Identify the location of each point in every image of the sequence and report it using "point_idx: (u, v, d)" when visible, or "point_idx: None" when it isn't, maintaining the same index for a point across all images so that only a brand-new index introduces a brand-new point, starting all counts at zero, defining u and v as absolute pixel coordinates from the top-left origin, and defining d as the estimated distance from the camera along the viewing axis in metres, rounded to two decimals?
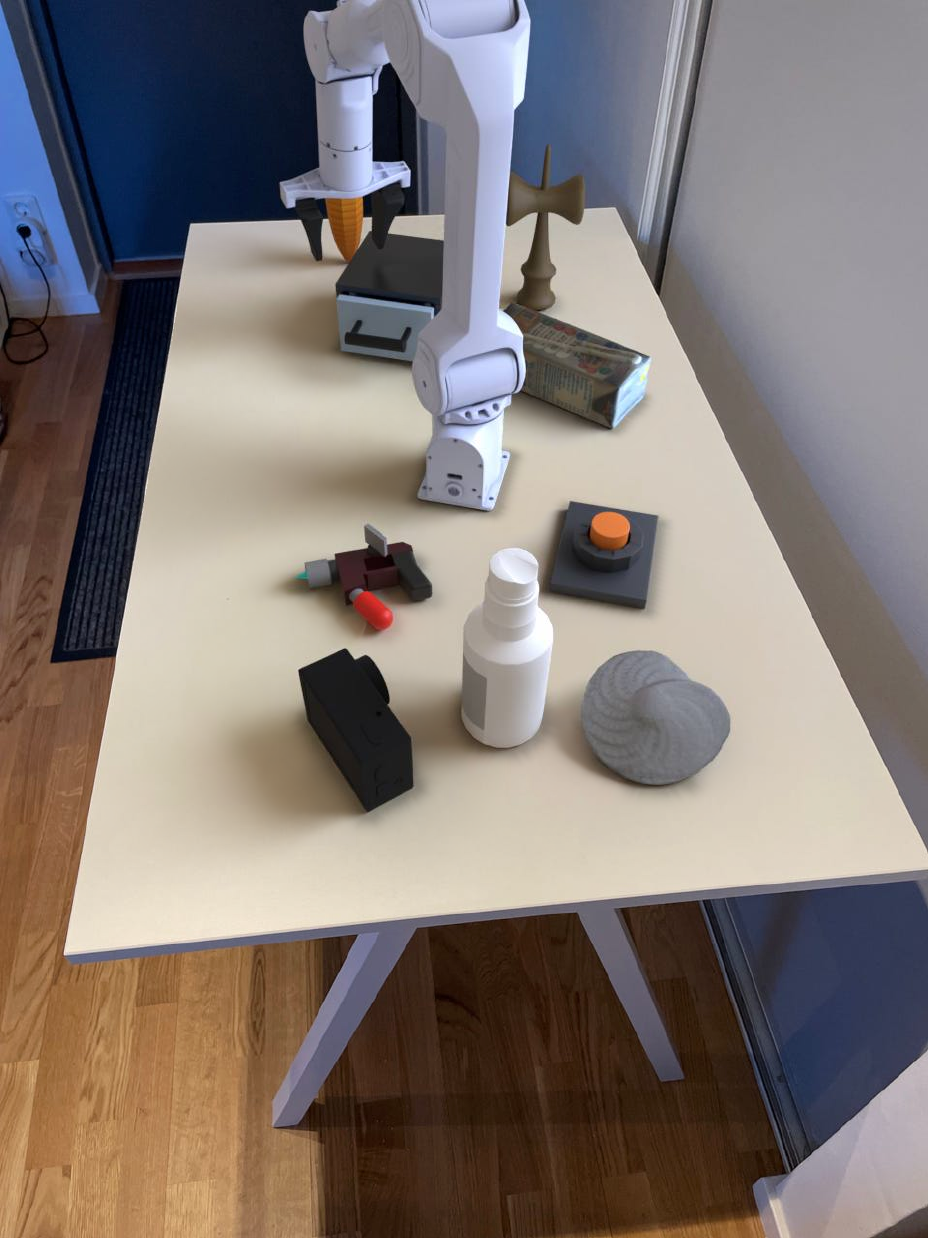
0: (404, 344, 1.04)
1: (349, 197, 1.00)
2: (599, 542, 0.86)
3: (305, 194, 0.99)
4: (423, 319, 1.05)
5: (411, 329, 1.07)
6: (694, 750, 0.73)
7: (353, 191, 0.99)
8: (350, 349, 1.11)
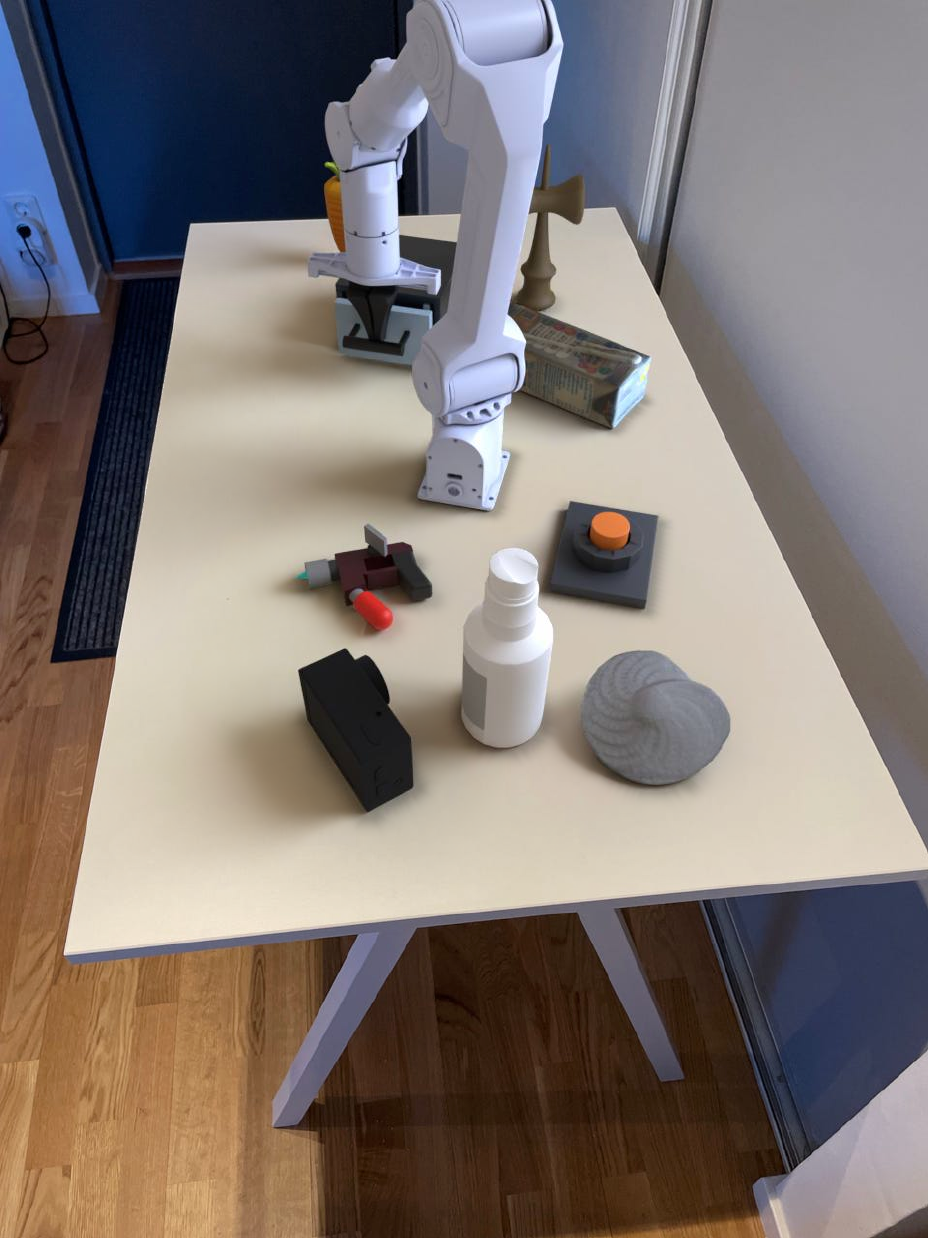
0: (402, 348, 1.04)
1: (358, 282, 0.98)
2: (599, 542, 0.86)
3: (324, 268, 0.99)
4: (421, 322, 1.05)
5: (409, 332, 1.06)
6: (694, 750, 0.73)
7: (363, 278, 0.97)
8: (348, 353, 1.10)
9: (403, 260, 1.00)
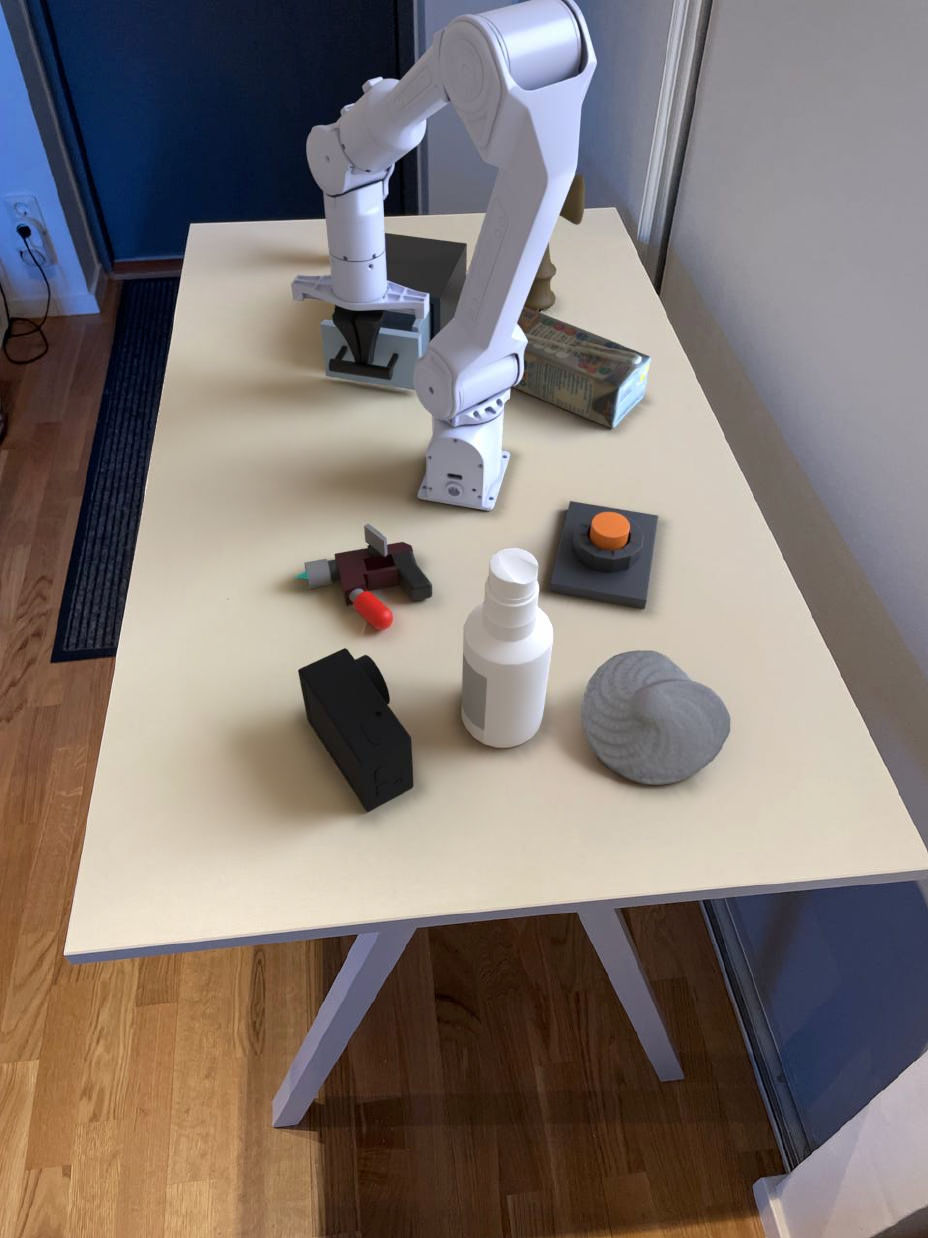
0: (390, 371, 1.01)
1: (344, 307, 0.95)
2: (599, 542, 0.86)
3: (308, 292, 0.96)
4: (410, 345, 1.02)
5: (398, 355, 1.03)
6: (694, 750, 0.73)
7: (349, 302, 0.94)
8: (335, 375, 1.07)
9: (390, 283, 0.97)
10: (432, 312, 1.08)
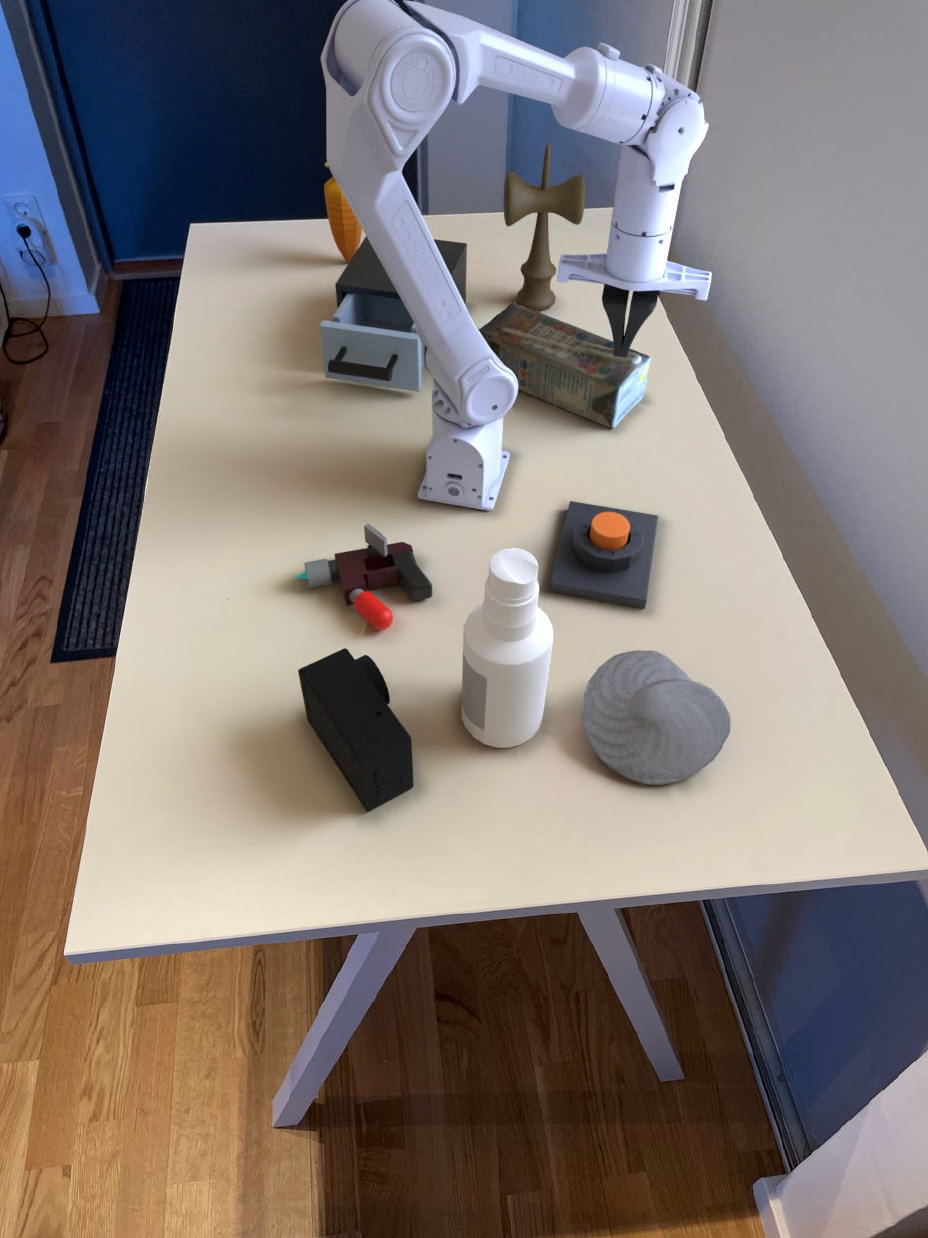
0: (390, 373, 1.00)
1: (622, 287, 0.87)
2: (599, 542, 0.86)
3: (579, 272, 0.88)
4: (410, 346, 1.02)
5: (397, 356, 1.03)
6: (694, 750, 0.73)
7: (629, 282, 0.86)
8: (334, 376, 1.07)
9: (665, 262, 0.89)
10: None
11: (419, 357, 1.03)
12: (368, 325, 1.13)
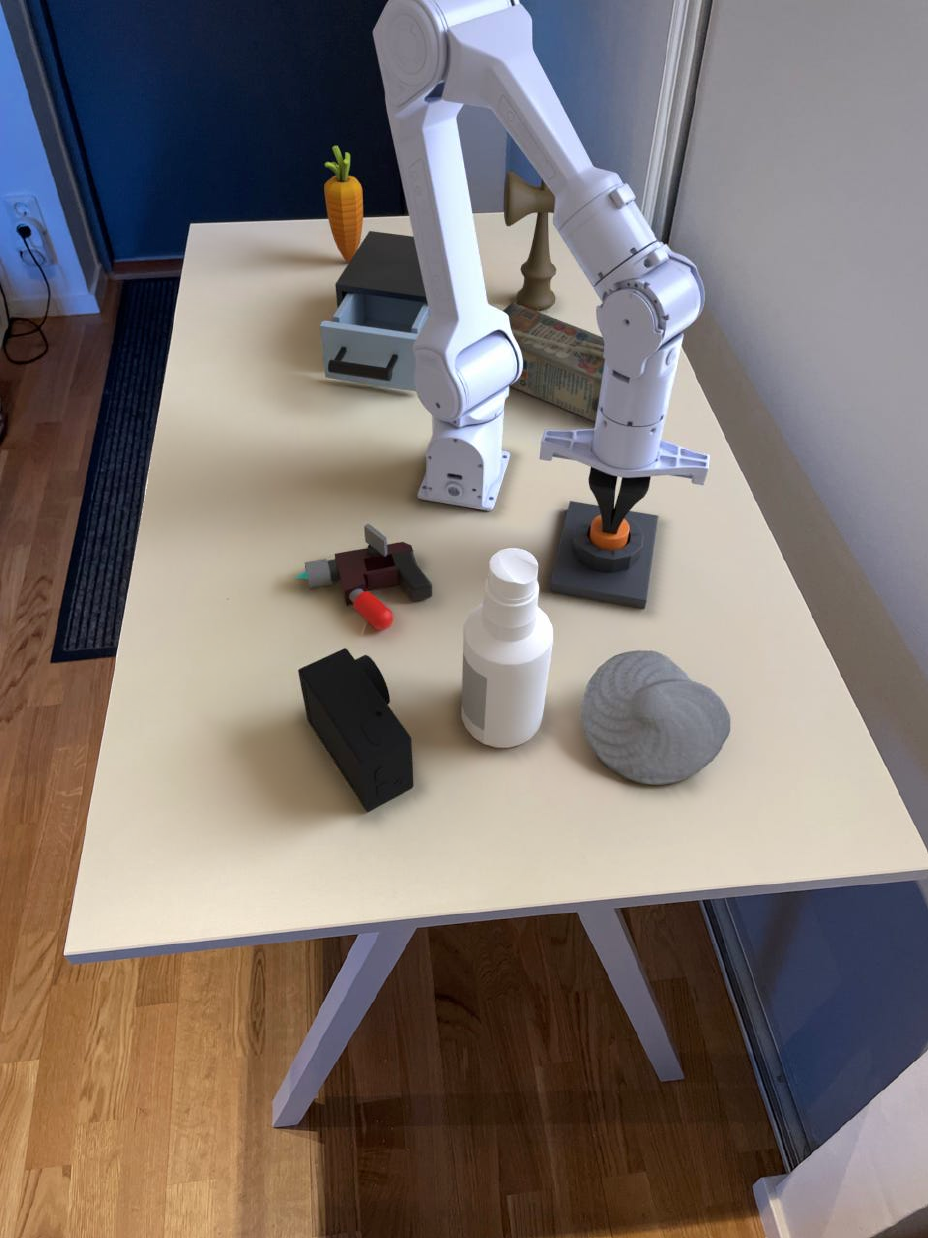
0: (390, 373, 1.00)
1: (611, 473, 0.79)
2: (599, 544, 0.87)
3: (563, 453, 0.80)
4: (410, 346, 1.02)
5: (397, 356, 1.03)
6: (694, 750, 0.73)
7: (618, 469, 0.78)
8: (334, 376, 1.07)
9: None
10: None
11: None
12: (368, 325, 1.13)
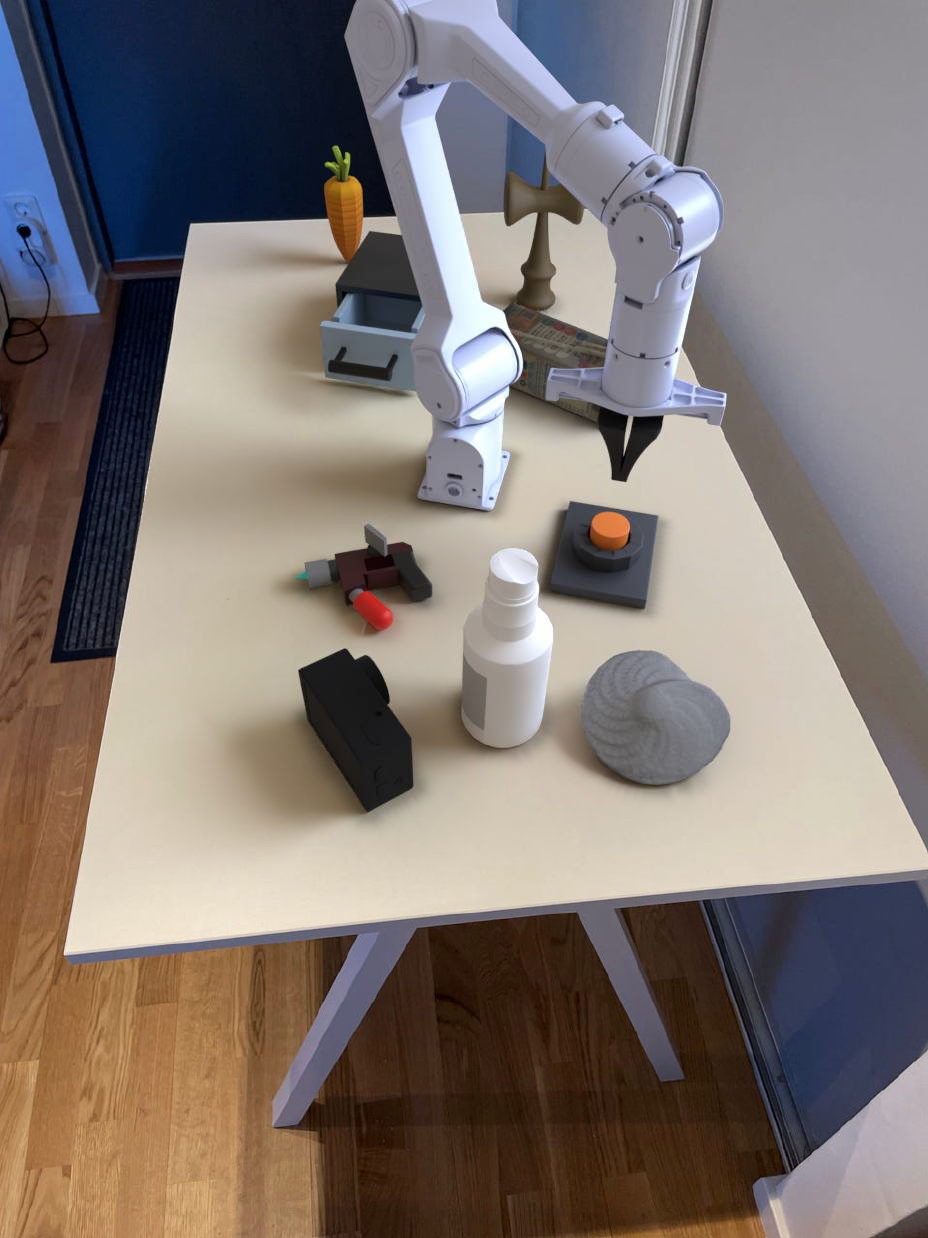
0: (390, 373, 1.00)
1: (622, 412, 0.74)
2: (599, 542, 0.86)
3: (570, 391, 0.75)
4: (410, 346, 1.02)
5: (397, 356, 1.03)
6: (694, 750, 0.73)
7: (629, 407, 0.73)
8: (334, 376, 1.07)
9: None
10: None
11: None
12: (368, 325, 1.13)
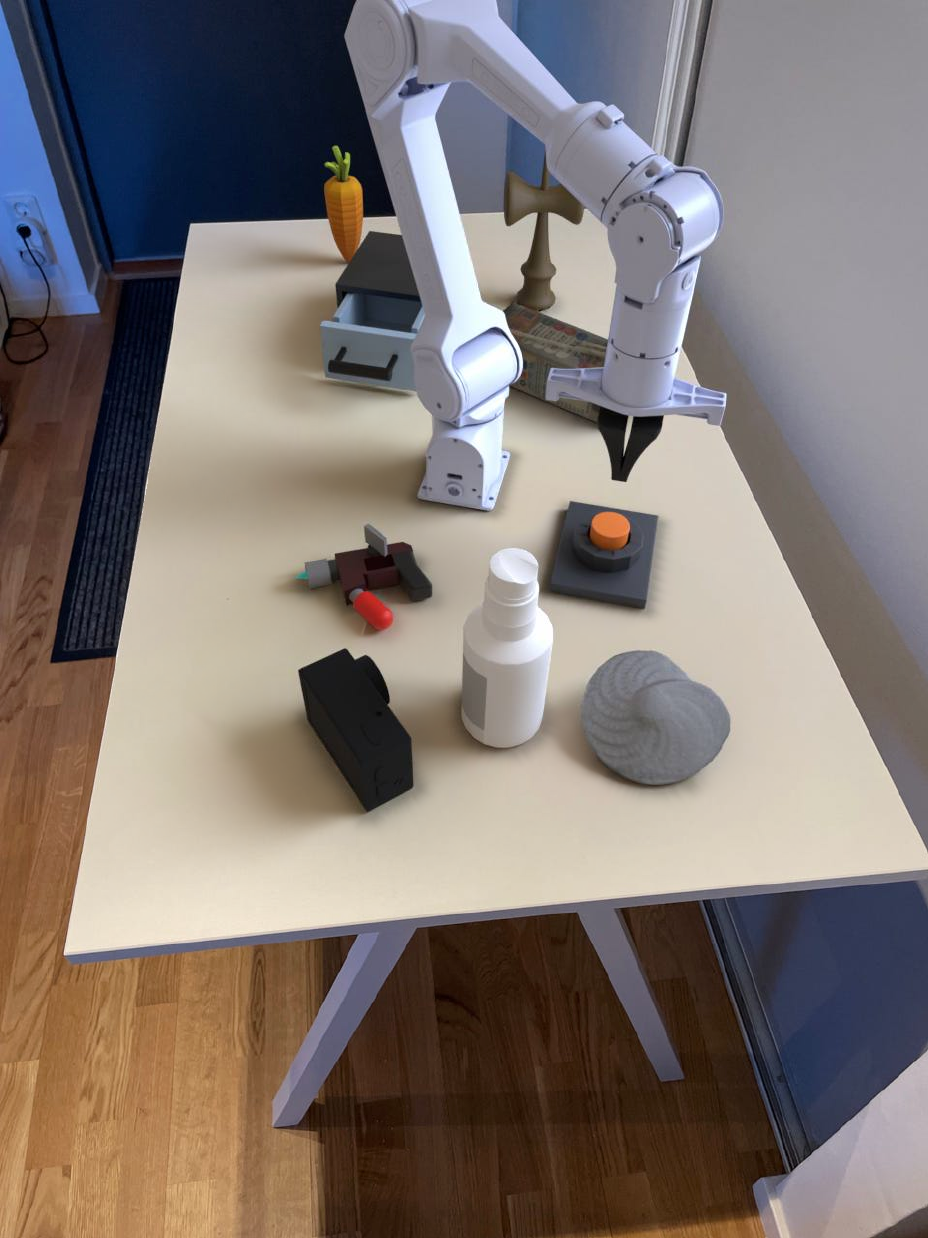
0: (390, 373, 1.00)
1: (622, 412, 0.74)
2: (599, 542, 0.86)
3: (570, 391, 0.75)
4: (410, 346, 1.02)
5: (397, 356, 1.03)
6: (694, 750, 0.73)
7: (629, 407, 0.73)
8: (334, 376, 1.07)
9: None
10: None
11: None
12: (368, 325, 1.13)
